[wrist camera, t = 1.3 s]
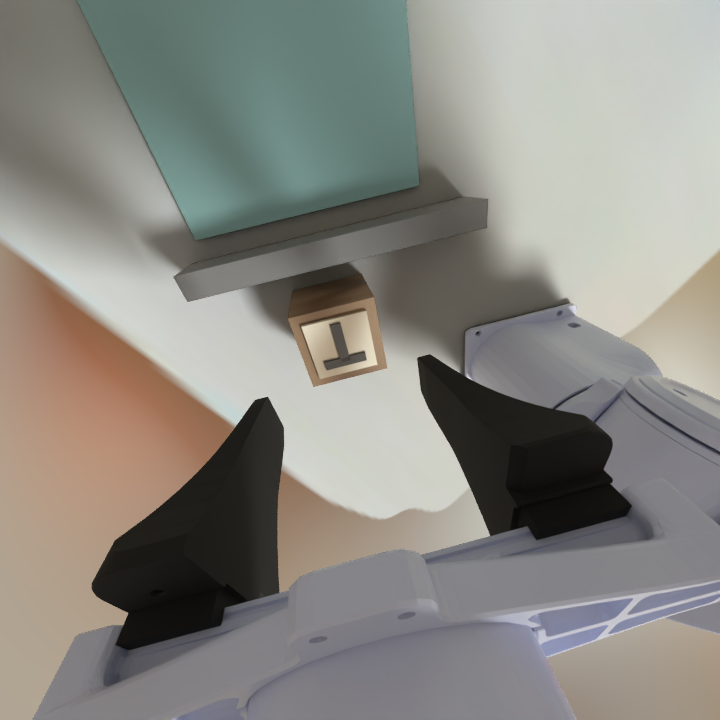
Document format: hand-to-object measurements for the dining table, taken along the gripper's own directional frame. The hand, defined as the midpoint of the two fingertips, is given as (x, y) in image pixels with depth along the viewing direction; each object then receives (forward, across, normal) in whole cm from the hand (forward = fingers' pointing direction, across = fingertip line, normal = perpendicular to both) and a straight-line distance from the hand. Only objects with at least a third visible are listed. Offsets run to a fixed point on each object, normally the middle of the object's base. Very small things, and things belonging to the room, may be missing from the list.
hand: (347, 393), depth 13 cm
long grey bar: (+10, -1, -5) cm, 11 cm away
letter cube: (+10, 0, 0) cm, 10 cm away
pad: (+10, 0, -13) cm, 16 cm away
